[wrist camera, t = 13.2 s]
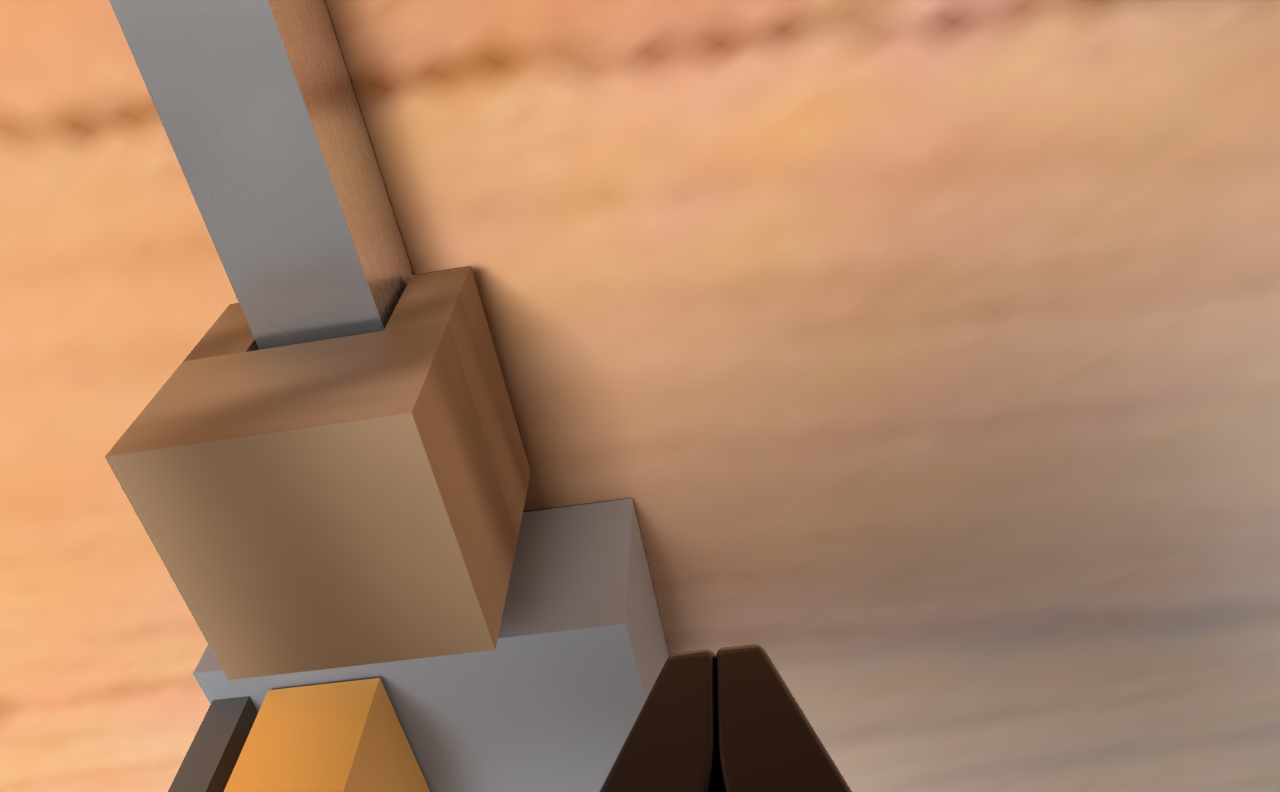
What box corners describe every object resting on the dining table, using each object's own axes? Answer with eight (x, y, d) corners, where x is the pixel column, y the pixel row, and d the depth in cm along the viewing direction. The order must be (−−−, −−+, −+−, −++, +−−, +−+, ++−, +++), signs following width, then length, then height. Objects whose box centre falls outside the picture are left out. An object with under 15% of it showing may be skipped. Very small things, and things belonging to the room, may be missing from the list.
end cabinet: (632, 498, 23) (620, 722, 18) (670, 659, 26) (669, 897, 20) (260, 546, 24) (141, 772, 19) (333, 697, 27) (247, 933, 22)
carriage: (470, 265, 20) (411, 412, 15) (531, 472, 22) (495, 649, 18) (230, 304, 20) (104, 456, 16) (315, 501, 23) (228, 679, 19)
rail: (253, -219, 16) (191, -217, 14) (490, 509, 24) (472, 580, 21) (111, -188, 16) (31, -181, 14) (390, 522, 24) (363, 593, 22)
